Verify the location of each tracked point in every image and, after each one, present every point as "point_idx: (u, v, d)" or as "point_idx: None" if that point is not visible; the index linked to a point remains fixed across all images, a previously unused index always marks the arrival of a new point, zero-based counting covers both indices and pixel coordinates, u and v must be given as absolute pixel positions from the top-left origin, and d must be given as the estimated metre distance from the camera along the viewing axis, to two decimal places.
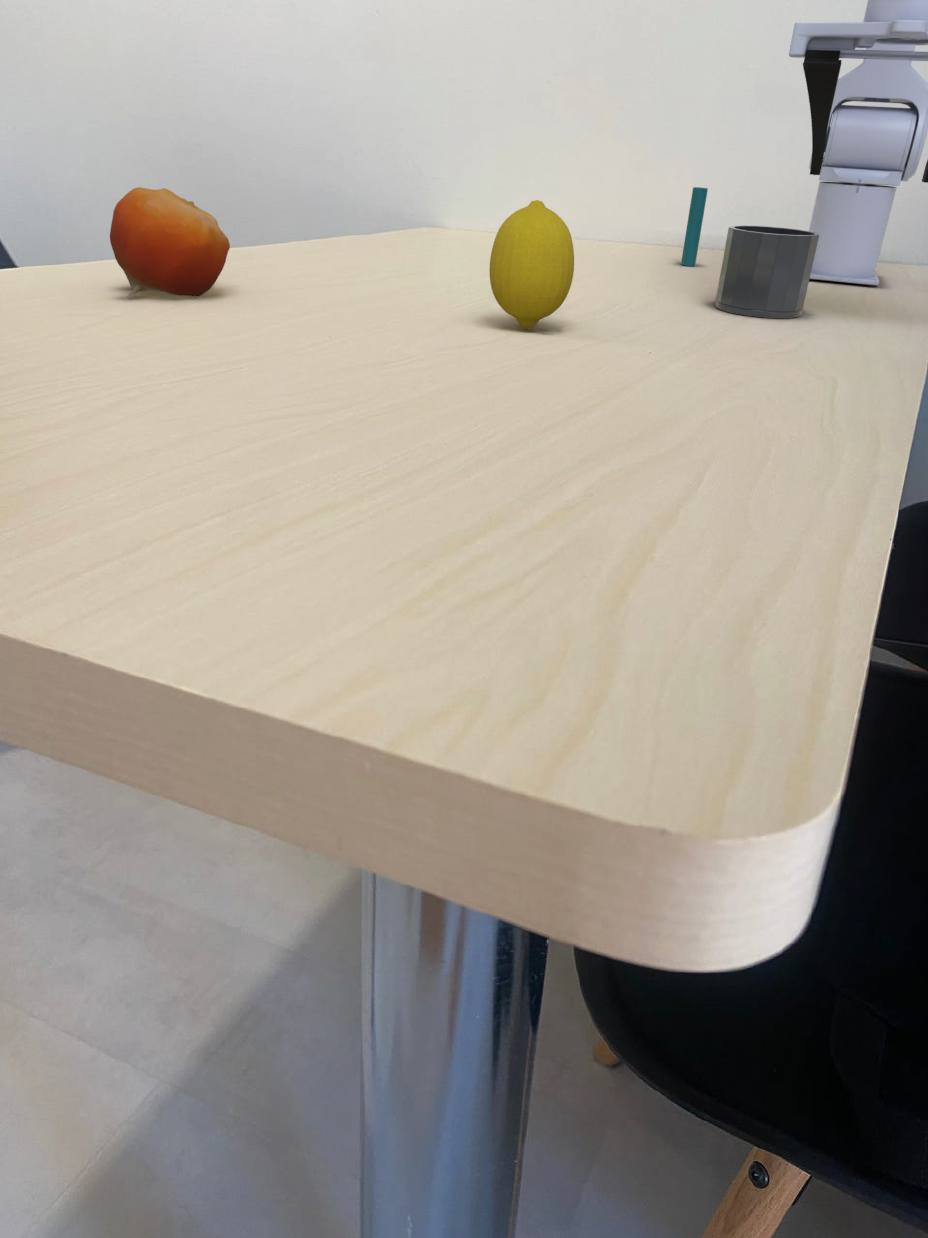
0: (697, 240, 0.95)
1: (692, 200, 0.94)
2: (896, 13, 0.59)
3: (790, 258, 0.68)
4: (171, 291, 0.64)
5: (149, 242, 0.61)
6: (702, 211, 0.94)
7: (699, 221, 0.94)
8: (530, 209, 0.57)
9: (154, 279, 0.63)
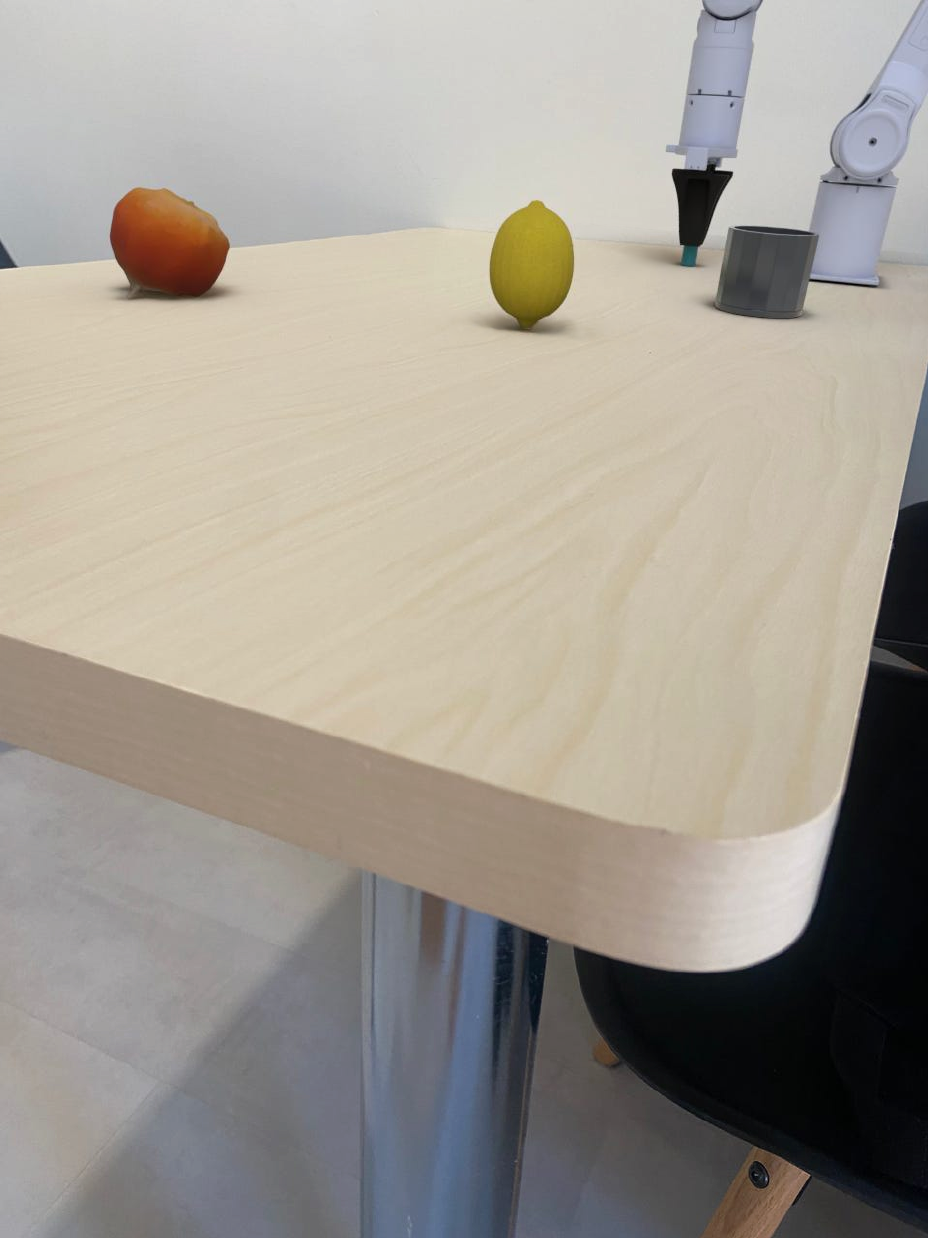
0: None
1: None
2: None
3: (790, 258, 0.68)
4: (171, 291, 0.64)
5: (149, 242, 0.61)
6: None
7: None
8: (530, 209, 0.57)
9: (154, 279, 0.63)
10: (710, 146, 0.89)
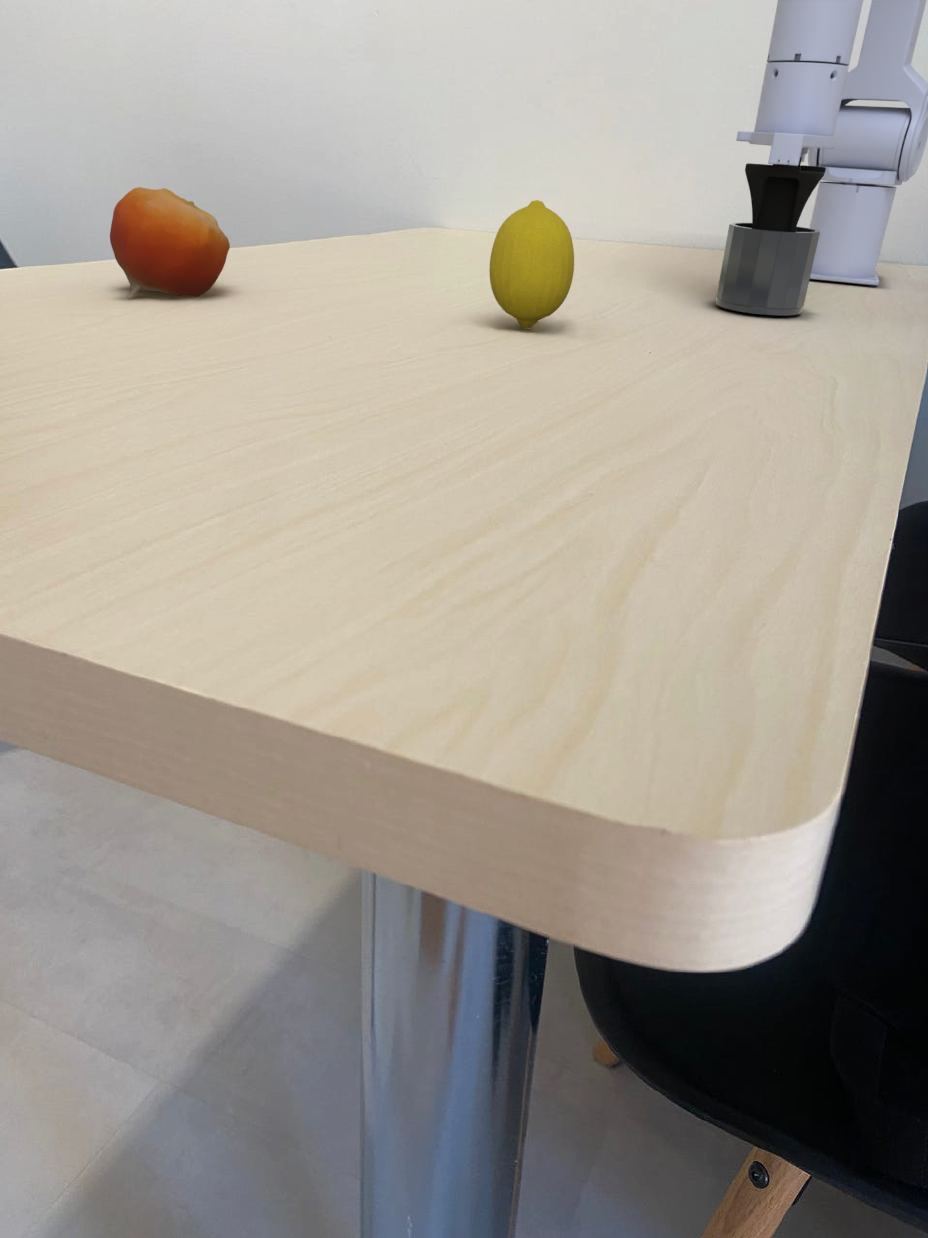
0: None
1: None
2: None
3: (790, 255, 0.68)
4: (171, 291, 0.64)
5: (149, 242, 0.61)
6: None
7: None
8: (530, 209, 0.57)
9: (154, 279, 0.63)
10: (801, 133, 0.65)
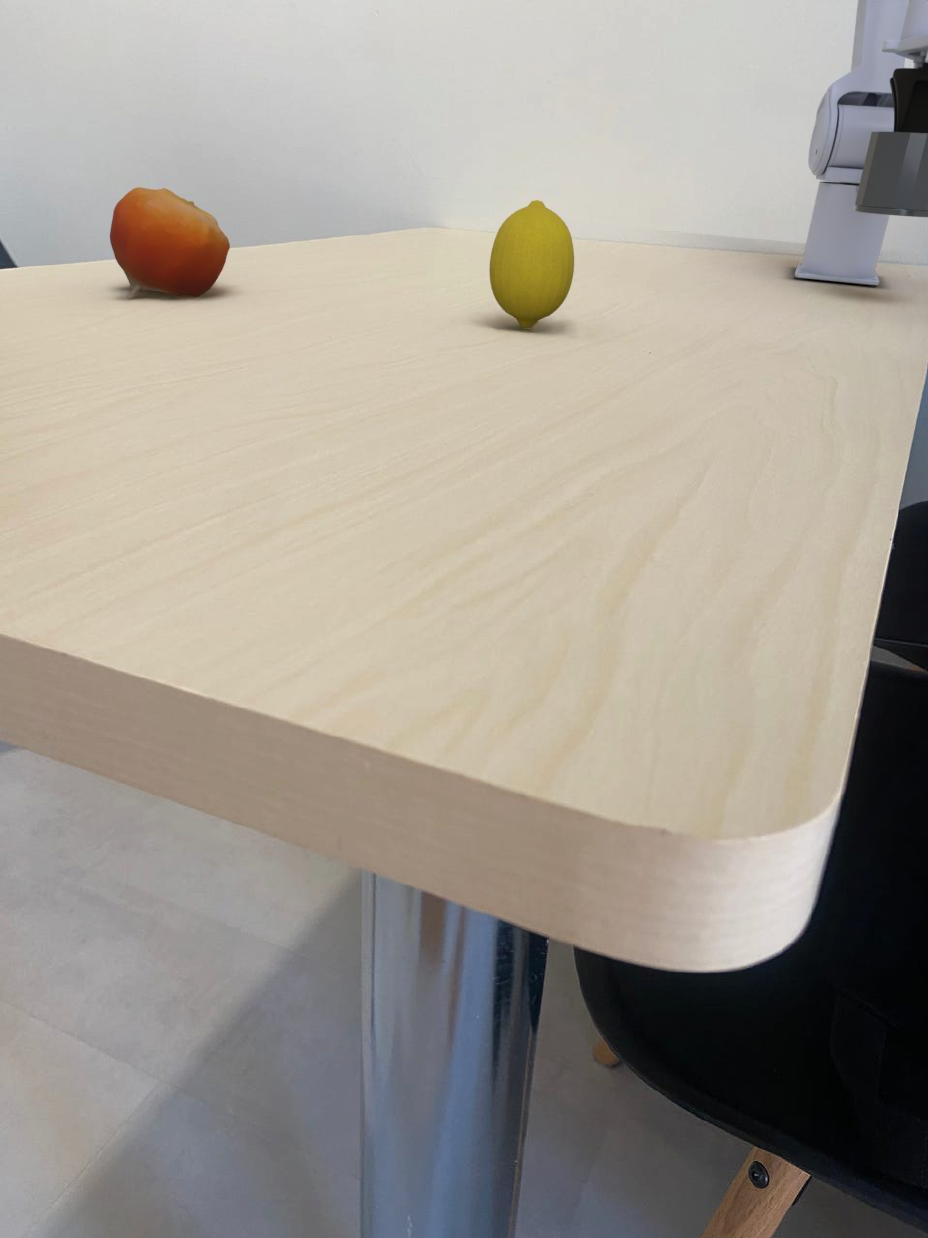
0: None
1: None
2: None
3: None
4: (171, 291, 0.64)
5: (149, 242, 0.61)
6: None
7: None
8: (530, 209, 0.57)
9: (154, 279, 0.63)
10: None
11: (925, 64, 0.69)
